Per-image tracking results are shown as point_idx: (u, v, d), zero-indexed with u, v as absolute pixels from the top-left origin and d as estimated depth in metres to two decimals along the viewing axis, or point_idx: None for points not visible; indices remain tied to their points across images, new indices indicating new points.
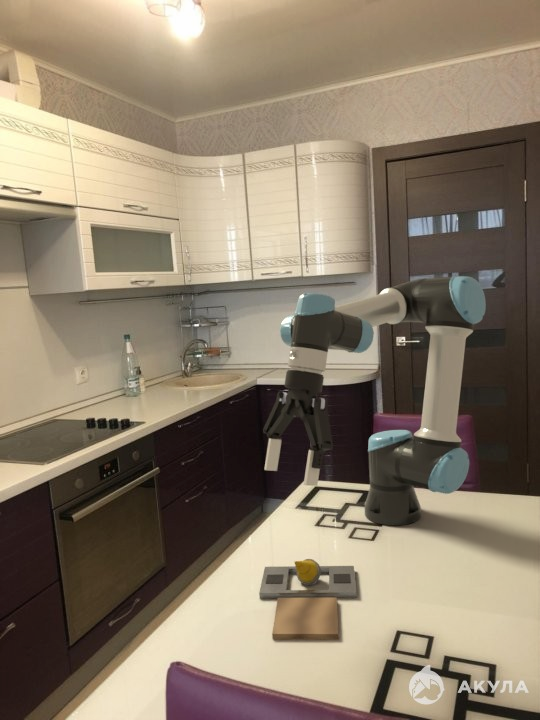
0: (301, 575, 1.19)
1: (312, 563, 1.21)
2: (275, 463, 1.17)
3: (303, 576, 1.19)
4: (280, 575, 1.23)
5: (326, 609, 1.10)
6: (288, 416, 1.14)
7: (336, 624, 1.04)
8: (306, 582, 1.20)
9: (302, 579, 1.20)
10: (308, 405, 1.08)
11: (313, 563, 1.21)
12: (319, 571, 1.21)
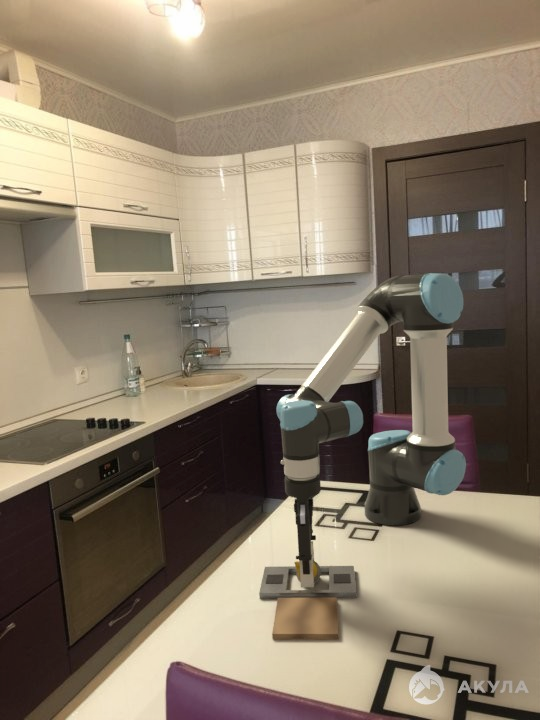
0: None
1: None
2: None
3: None
4: (280, 575, 1.23)
5: (326, 609, 1.10)
6: None
7: (336, 624, 1.04)
8: None
9: None
10: (298, 512, 1.16)
11: (313, 563, 1.21)
12: (319, 572, 1.20)
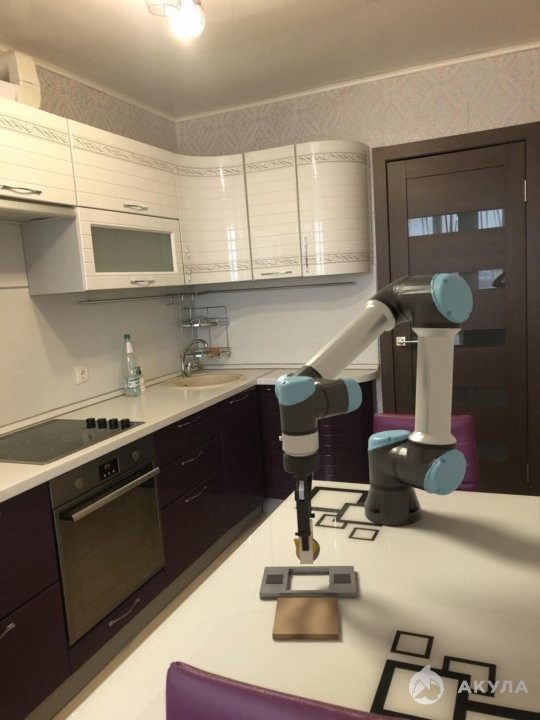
0: None
1: None
2: None
3: None
4: (280, 575, 1.23)
5: (326, 609, 1.10)
6: None
7: (336, 624, 1.04)
8: None
9: None
10: None
11: (312, 541, 1.20)
12: (319, 549, 1.20)
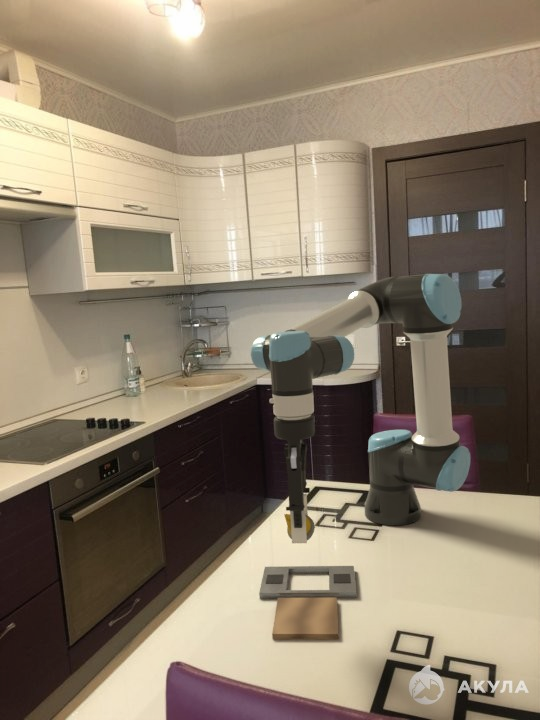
0: None
1: None
2: None
3: None
4: (280, 575, 1.23)
5: (326, 609, 1.10)
6: None
7: (336, 624, 1.04)
8: None
9: None
10: None
11: (306, 518, 1.07)
12: (313, 527, 1.06)
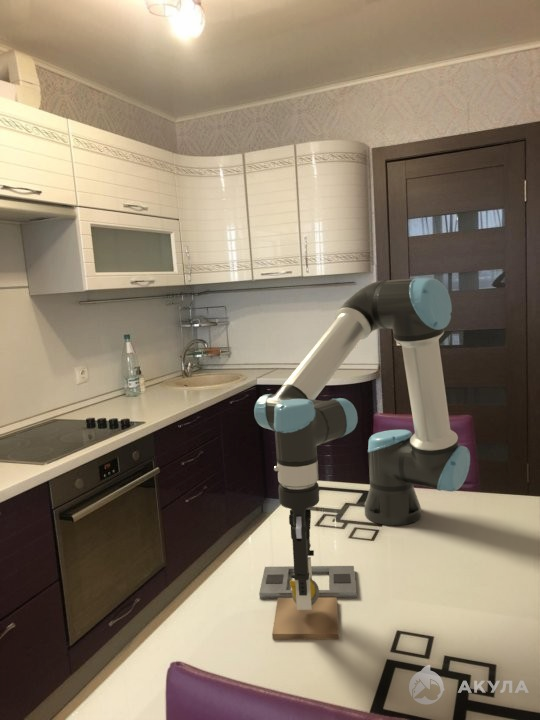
0: None
1: None
2: None
3: None
4: (280, 575, 1.23)
5: (326, 609, 1.10)
6: None
7: (336, 624, 1.04)
8: None
9: None
10: None
11: (310, 582, 1.08)
12: (317, 592, 1.07)
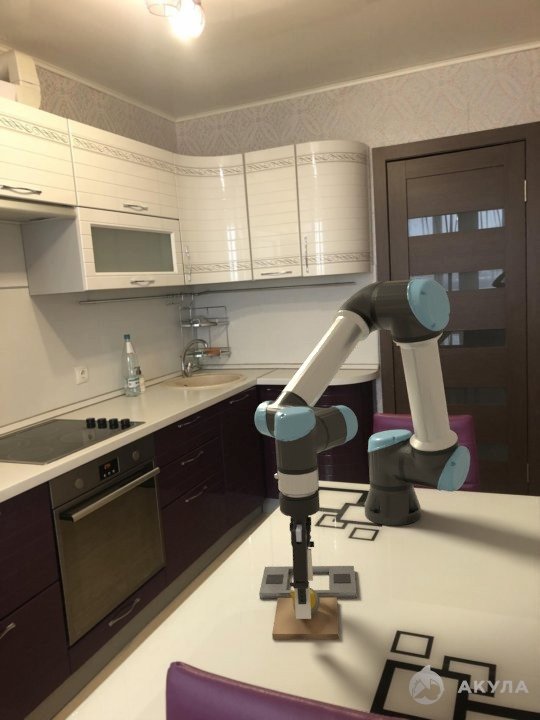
0: None
1: (310, 592, 1.08)
2: (309, 573, 1.14)
3: None
4: (280, 575, 1.23)
5: (326, 609, 1.10)
6: None
7: (336, 624, 1.04)
8: None
9: None
10: None
11: (311, 592, 1.08)
12: (318, 602, 1.07)
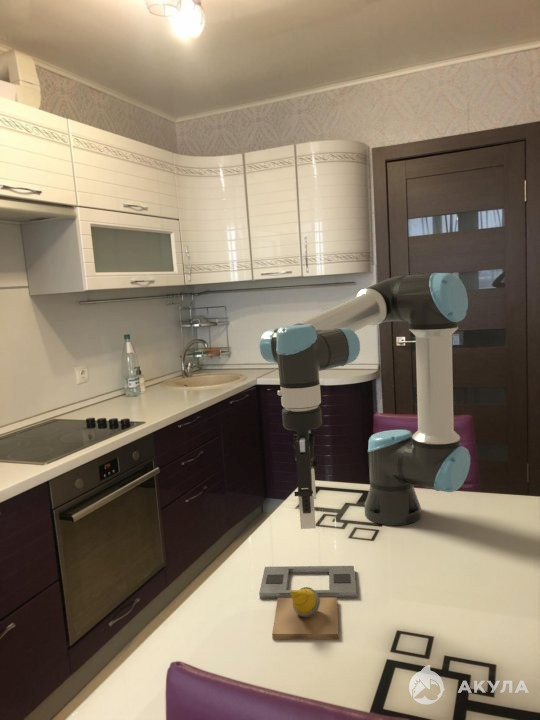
0: (298, 606, 1.06)
1: (310, 592, 1.08)
2: (312, 492, 1.16)
3: (300, 607, 1.06)
4: (280, 575, 1.23)
5: (326, 609, 1.10)
6: None
7: (336, 624, 1.04)
8: (303, 614, 1.07)
9: (299, 611, 1.07)
10: None
11: (311, 592, 1.08)
12: (318, 602, 1.07)
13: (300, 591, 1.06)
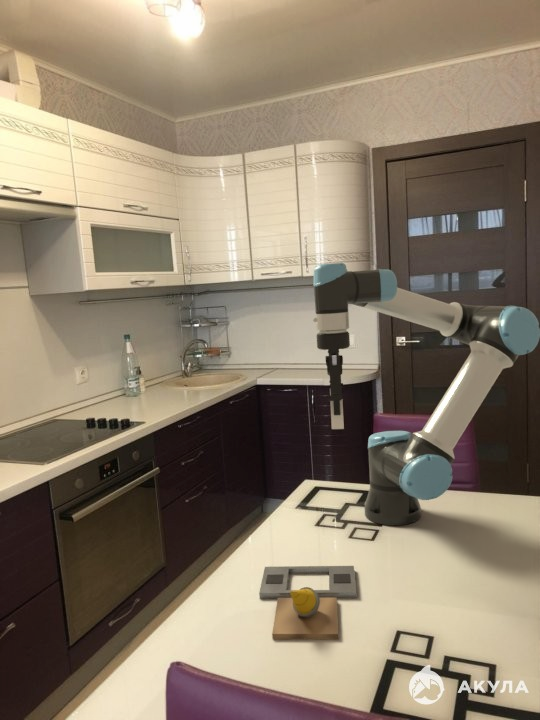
0: (298, 606, 1.06)
1: (310, 592, 1.08)
2: None
3: (300, 607, 1.06)
4: (280, 575, 1.23)
5: (326, 609, 1.10)
6: None
7: (336, 624, 1.04)
8: (303, 614, 1.07)
9: (299, 611, 1.07)
10: None
11: (311, 592, 1.08)
12: (318, 602, 1.07)
13: (300, 591, 1.06)
